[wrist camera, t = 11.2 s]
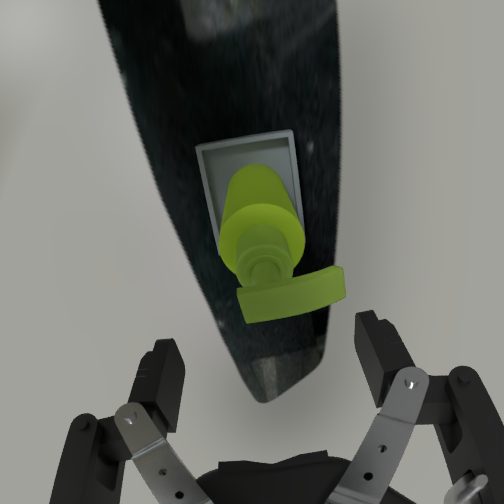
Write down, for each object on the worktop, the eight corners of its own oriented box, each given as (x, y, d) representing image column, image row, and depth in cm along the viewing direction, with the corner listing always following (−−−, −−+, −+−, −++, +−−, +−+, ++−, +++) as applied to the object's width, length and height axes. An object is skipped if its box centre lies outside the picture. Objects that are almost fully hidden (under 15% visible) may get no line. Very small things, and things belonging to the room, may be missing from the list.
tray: (198, 144, 32) (195, 147, 30) (289, 129, 31) (292, 131, 29) (220, 247, 37) (219, 255, 35) (302, 235, 36) (305, 242, 35)
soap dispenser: (298, 208, 34) (350, 331, 17) (236, 222, 35) (227, 357, 17) (287, 155, 32) (341, 234, 14) (221, 171, 33) (191, 268, 15)
